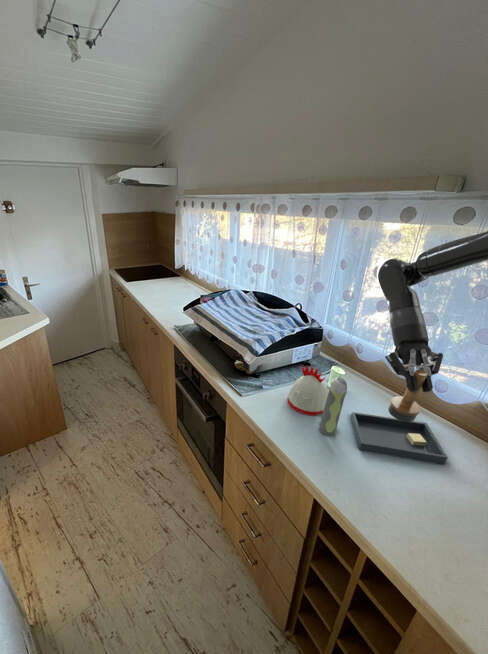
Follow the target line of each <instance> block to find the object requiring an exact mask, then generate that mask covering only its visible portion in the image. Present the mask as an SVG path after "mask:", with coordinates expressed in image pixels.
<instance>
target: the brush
mask: <svg viewBox="0 0 488 654" xmlns="http://www.w3.org/2000/svg"><path fill="white" fill-rule="evenodd" d="M414 371H415V375H414V376H416V381H417V386H418V391H416V392H410V390H408V388H407V387H406V390H405V392H404V394H403V395H401V396H399V395H398V396H397V395H396V396H393V397H392V398H391V399H390V404H389V406H388V408H387V410H388V413H389V414H390V416H392V418H396V419H398V420H401V421H405V422H411V421H415V420H416V419H417V416H418V415H419V414H420V412H421V410H422V408H421V405H420V404H419V403H418V402H416V401H415V400H416V398H418V395H419V393H420V390H421V389H422V385H423V383H424V381H425V379H426V377H427V373H426V372H425V371H422V370H417V369H416V370H414Z"/></svg>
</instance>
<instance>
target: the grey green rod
mask: <svg viewBox="0 0 488 654" xmlns="http://www.w3.org/2000/svg"><path fill="white" fill-rule="evenodd" d="M347 390H348V384H347V381H346V380H345V378H344V379H343V378H340V377H339V378H335V379H333V380H332V383H331V387H329V390H328V396H327V400H326V404H325V407H324V411H323V413H322V415H321V419H320V422H319V425H318V432H319V433H321V434H322V435H323V436H326V437H333V436H335V434H336V432H337V428H338V425H339V420H340V416H341V412H342V408H343V405H344V403H345V397H346V394H347Z"/></svg>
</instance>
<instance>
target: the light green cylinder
mask: <svg viewBox="0 0 488 654" xmlns="http://www.w3.org/2000/svg"><path fill="white" fill-rule="evenodd" d="M345 375H346V371H345V370H344V369H342V368H341V367H339V366H336V365H332V366H331V369H330V373H329V377H328V381H327V387H328V388H330V387H331V383H332V380H333V379H335V378H339V377H340V378H343V379H344V380H345Z"/></svg>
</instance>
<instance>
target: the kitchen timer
mask: <svg viewBox="0 0 488 654" xmlns="http://www.w3.org/2000/svg"><path fill="white" fill-rule="evenodd" d="M301 371H302V376H300V377H299V378H297V379H295V380H294V383H293V384H292V385H291V388H290V389H289V392H288V395H287V404H288V405H289V407H290V408H291V409H292V410H294V411H295V412H297V413H300V414H302V415H307V416H313V417H315V416H318V415H321V414H323V411H324V407H325V404H326V400H327V396H328V393H329V390H328V386H327V385H326V383H325V381H324V380H325V379H326V376H324V377H323V378H321V376H322V374H323V373H322V372H320V373H319V368H316V369H315V370H314V366H312V367H311V369H310V367H309V365H306V366H305V367H304V366H302V367H301Z"/></svg>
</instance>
